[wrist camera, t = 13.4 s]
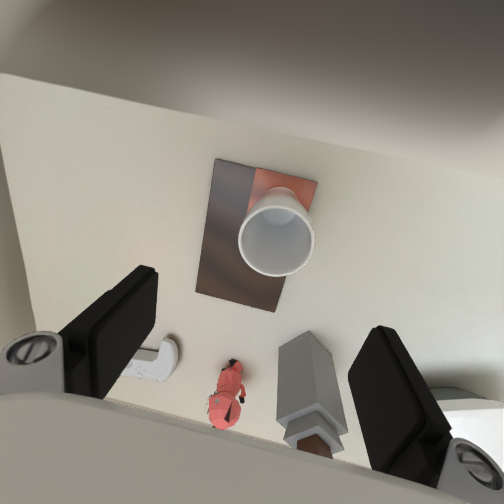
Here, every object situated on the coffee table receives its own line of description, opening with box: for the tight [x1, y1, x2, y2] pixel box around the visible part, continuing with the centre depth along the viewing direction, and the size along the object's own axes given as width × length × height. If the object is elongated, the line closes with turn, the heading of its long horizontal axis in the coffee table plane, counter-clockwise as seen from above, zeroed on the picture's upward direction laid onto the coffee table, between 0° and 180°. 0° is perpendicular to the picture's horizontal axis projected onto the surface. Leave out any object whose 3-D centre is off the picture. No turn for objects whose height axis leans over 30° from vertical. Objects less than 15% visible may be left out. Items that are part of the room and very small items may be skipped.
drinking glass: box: [238, 187, 315, 277], centre depth 28 cm, size 7×7×15 cm
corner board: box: [195, 159, 318, 312], centre depth 39 cm, size 22×14×1 cm, turn 168°
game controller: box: [120, 338, 178, 382], centre depth 49 cm, size 14×4×10 cm
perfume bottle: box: [276, 331, 348, 459], centre depth 38 cm, size 7×7×18 cm
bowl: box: [429, 387, 504, 472], centre depth 44 cm, size 22×23×8 cm
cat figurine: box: [205, 359, 246, 430], centre depth 45 cm, size 7×7×12 cm
